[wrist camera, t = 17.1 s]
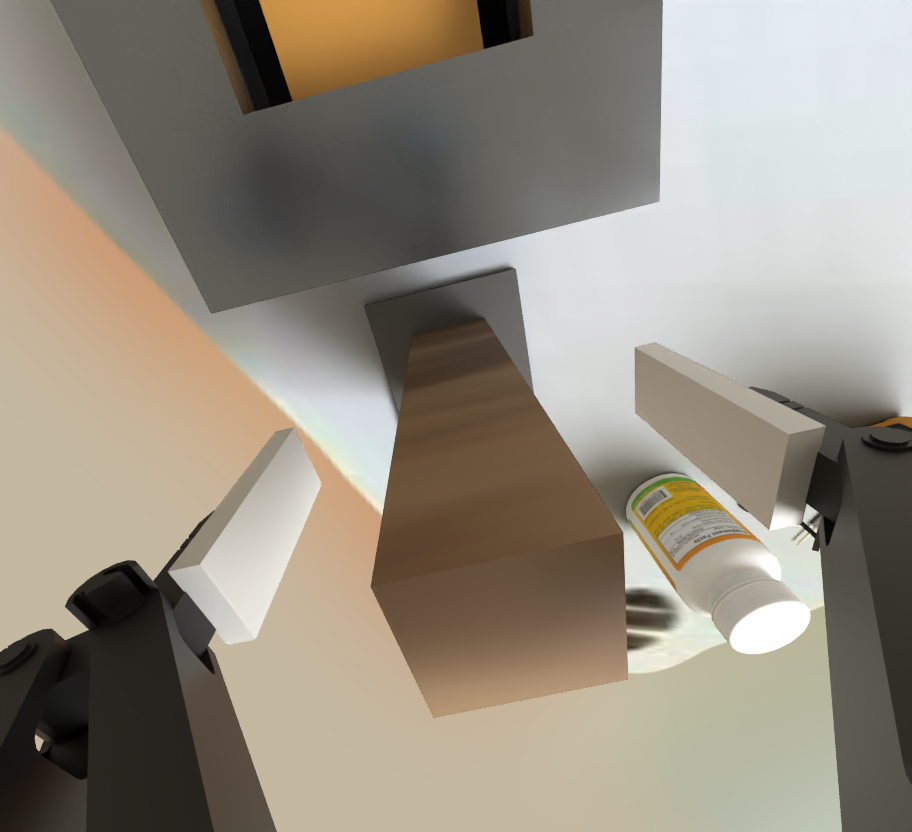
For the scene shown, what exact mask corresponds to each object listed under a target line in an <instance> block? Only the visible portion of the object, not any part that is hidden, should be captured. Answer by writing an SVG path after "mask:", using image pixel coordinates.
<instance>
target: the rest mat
mask: <svg viewBox="0 0 912 832" xmlns="http://www.w3.org/2000/svg"><path fill="white" fill-rule="evenodd" d="M364 308H365V311H366V314H367V317H368V320H369V323H370V326H371V329H372V332H373V335H374V338H375V341H376V344H377V347H378V350H379V353H380V356H381V359H382V362H383V365H384V369H385V372H386V375H387V378H388V381H389V384H390V387H391V390H392V393H393V396H394V399H395V402H396V405H397V408H398V411H399V413H400V406H401V400H402V394H403V388H404V382H405V376H406V370H407V364H408V358H409V352H410V346H411V340H412V335H416V334H420V333H424V332H429V331H433V330H437V329H441V328H445V327H449V326H453V325H457V324H462V323H466V322H470V321H474V320H478V319H482V318H485V319H486V321H487V322H488V324H489V325H490V327H491V328H492V330H493V331H494V333H495V335H496V336H497V338H498V339H499V341H500V342H501V344H502V345H503V347H504V348H505V350H506V352H507V353H508V355H509V356H510V358H511V359H512V361H513V362H514V364H515V366H516V367H517V369H518V370H519V372H520V373H521V375H522V376H523V378H524V379H525V381H526V383H527V384H528V386H529V387H530V389H531V390H532V392H533V385H532V378H531V371H530V364H529V357H528V350H527V343H526V336H525V329H524V322H523V315H522V309H521V302H520V295H519V288H518V281H517V274H516V269H510V270H506V271H502V272H498V273H494V274H490V275H486V276H482V277H478V278H473V279H469V280H465V281H461V282H457V283H453V284H449V285H445V286H441V287H437V288H433V289H429V290H425V291H421V292H417V293H413V294H409V295H405V296H401V297H397V298H392V299H388V300H384V301H380V302H376V303H372V304H368V305H365V306H364ZM533 393H534V392H533Z"/></svg>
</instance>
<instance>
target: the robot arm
mask: <svg viewBox="0 0 912 832" xmlns="http://www.w3.org/2000/svg"><path fill="white" fill-rule="evenodd" d="M635 413H636V414H638V415H639V416H640V417H641V418H642V419H643V420H644V421H646V422H647V423H648V424H649V425H650V426H651V427H652V428H653V429H655V430H656V431H657V432H658V433H659V434H660V435H661V436H663V437H664V438H665V439H666V440H667V441H668V442H669V443H671V444H672V445H673V446H674V447H675V448H676V449H677V450H679V451H680V452H681V453H682V454H683V455H684V456H685V457H687V458H688V459H689V460H690V461H691V462H692V463H693V464H695V465H696V466H697V467H698V468H699V469H700V470H701V471H703V472H704V473H705V474H706V475H707V476H708V477H709V478H710V479H712V480H713V481H714V482H715V483H716V484H717V485H718V486H720V487H721V488H722V489H723V490H724V491H725V492H726V493H728V494H729V495H730V496H731V497H732V498H733V499H734V500H736V501H737V502H738V503H739V504H740V505H741V506H742V507H744V508H745V509H746V510H747V511H748V512H749V513H750V514H752V515H753V516H754V517H755V518H756V519H757V520H758V521H760V522H761V523H762V524H763V525H764V526H765V527H766V528H767V529H769V530H774V529H779V528H784V527H789V526H793V525H798V524H802V520H803V516H804V512H805V508H806V504H808V505H809V506H811V507H812V508H814V509H815V510H816V511H818V512H819V513H821V514H822V515H821V519H820V523H819V526H818V530H817V533H816V537H815V541H814V544H813V548H812V550H814V551H819V549H820V553H821V566H822V578H823V591H824V604H825V617H826V629H827V642H828V654H829V668H830V681H831V693H832V706H833V719H834V732H835V745H836V758H837V770H838V783H839V795H840V808H841V820H842V832H912V433H911V432H908V431H904V430H901V429H895V428H888V427H878V426H864V427H858V428H853V429H852V428H850V427H848V426H846V425H843V424H841V423H839V422H837V421H835V420H833V419H831V418H828V417H826V416H824V415H822V414H820V413H818V412H815V411H813V410H811V409H809V408H804V406H803V405H800V404H798V403H796V402H794V401H792V402H791V401H790V399H788V398H785V397H783V396H781V395H779V394H777V393H775V392H772V391H768V390H763V389H759V388H755V387H749V388H747V387H745V386H743V385H741V384H739V383H737V382H735V381H733V380H731V379H729V378H727V377H725V376H723V375H721V374H719V373H717V372H715V371H713V370H711V369H709V368H707V367H704V366H702V365H700V364H698V363H696V362H694V361H692V360H690V359H688V358H686V357H684V356H682V355H680V354H678V353H676V352H674V351H672V350H670V349H668V348H666V347H664V346H662V345H660V344H657V343H651V344H647V345H643V346H638V347H635ZM321 485H322V484H321V482H320V480H319V478H318V475H317V473H316V471H315V470H314V467H313V465H312V463H311V461H310V459H309V457H308V454H307V453H306V450H305V448H304V446H303V444H302V442H301V440H300V438H299V436H298V434H297V431H296V429H295V428H294V427H293V428H289V429H285V430H281V431H276V432H275V433H274V434H273V436H272V437H271V438H270V440H269V441H268V442H267V443H266V445H265V446H264V447H263V449H262V450H261V451H260V452H259V454H258V455H257V456H256V458H255V459H254V460H253V462H252V463H251V464H250V465H249V467H248V468H247V469H246V471H245V472H244V473H243V474H242V476H241V477H240V478H239V480H238V481H237V482H236V484H235V485H234V486H233V487H232V489H231V490H230V491H229V493H228V494H227V495H226V497H225V498H224V499H223V500H222V502H221V503H220V504H219V506H218V507H217V508H216V510H214V511H213V512H212V513H210V514H209V515H208V516H207V517H206V518H205V519H203V520H202V521H201V522H200V523H199V524H198V525H197V527H196V528H195V529H194V530H193V532H192V533H191V534H190V535H189V538H188V539H186V540H185V542H184V543H183V544H182V545H181V547H180V550H177V552H176V553H175V554H174V555H173V557H172V558H171V559H170V561H169V562H168V563H167V564H166V566H165V567H164V568H163V569H162V571H161V572H160V573H159V575H158V576H157V577H156V578H155V580H154V581H152V580H151V578H150V577H149V576H148V575H147V574H146V573H145V571H144V570H143V569H142V568H141V567H140V566H139V564H138V563H137V562H136V561H130V560H127V561H124V562H121V563H117V564H115V565H112V566H110V567H108V568H106V569H104V570H102V571H101V572H99V573H98V574H96V575H94V576H93V577H91V578H90V579H89V580H87V581H86V582H85V583H84V584H82V585H81V586H80V587H79V588H78V589H77V590H76V591H75V592H74V593H73V594H72V595H71V596H70V597H69V599H68V601H67V603H66V605H65V607H66V608H67V609H68V610H69V611H70V612H71V613H72V614H73V615H74V616H75V617H76V618H77V619H78V620H80V622H82V623H83V624H84V625H85V626H86V627H87V628H88V629H89V630H88V631H86V632H83V633H81V634H79V635H77V636H74V637H72V638H70V639H68V640H64V639H63V638H62V637H61V636H60V635H58V634H57V633H56V632H55V631H54V630H53V629H43V630H40V631H37V632H35V633H32V634H30V635H28V636H26V637H25V638H23V639H21V640H19V641H16V642H14V643H13V644H11V645H10V646H8V648H7V649H6V648H5V649H4V650H3V651H1V652H0V832H277V831H276V828H275V825H274V822H273V820H272V817H271V814H270V811H269V808H268V805H267V803H266V799H265V797H264V794H263V791H262V788H261V785H260V782H259V779H258V776H257V774H256V771H255V768H254V765H253V762H252V759H251V756H250V754H249V751H248V748H247V745H246V742H245V739H244V736H243V733H242V730H241V728H240V725H239V722H238V719H237V716H236V714H235V710H234V707H233V705H232V702H231V699H230V696H229V693H228V690H227V687H226V685H225V682H224V679H223V676H222V673H221V670H220V667H219V664H218V661H217V659H216V656H215V654H214V652H213V651H212V650H211V649H210V648H209V646H208V644H209V642H210V640H211V638H212V637H213V635H214V633H215V631H216V632H217V633H218V634H219V635H220V637H221V638H222V639H223V640H224V642H225V643H226V644H227V645H230V644H235V643H240V642H244V641H249V640H254V639H256V637H257V635H258V632H259V630H260V628H261V625H262V623H263V620H264V618H265V616H266V613H267V611H268V609H269V606H270V604H271V602H272V599H273V597H274V594H275V592H276V590H277V588H278V585H279V583H280V580H281V578H282V576H283V574H284V571H285V569H286V566H287V564H288V562H289V560H290V557H291V555H292V552H293V550H294V548H295V545H296V543H297V541H298V538H299V536H300V533H301V531H302V529H303V527H304V524H305V522H306V520H307V517H308V515H309V512H310V510H311V508H312V506H313V503H314V501H315V499H316V496H317V494H318V491H319V489H320V487H321ZM35 734H36V735H37V736H39V737H40V738H41V739H43V740H44V742H43V744H42V747H41V749H40V751H38V750H37V749H36V744H35V739H34V738H35Z"/></svg>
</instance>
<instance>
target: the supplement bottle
mask: <svg viewBox="0 0 912 832" xmlns="http://www.w3.org/2000/svg"><path fill="white" fill-rule="evenodd" d="M626 515H627V519H628V521H629V523H630V525H631V526H632V528H633V530H634V531H635V533H636V534H637V535H638V537H639V538H640V539H641V541H642V542H643V544H644V545H645V547H646V548H647V550H648V551H649V553H650V554H651V555H652V557H653V558H654V560H655V561H656V563H657V564H658V566H659V567H660V569H661V570H662V572H663V573H664V574H665V576H666V577H667V579H668V580H669V582H670V583H671V585H672V586H673V588H674V589H675V591H676V592H677V594H678V595H679V596H680V598H681V599H682V600H683V602H684V603H685V604H686V605H687V606H688V607H689V608H690V609H691V610H693V611H694V612H696V613H698V614H700V615H703V616H706V617H710V618H712V621H713V622H714V624H715V626H716V628H717V629H718V630H719V632H720V633H721V634H722V635H723V637H724V638H725V639H726V640H727V642H728V643H729V644H730V646H731V647H732V648H733V649H735V650H737V651H739V652H742V653H746V654H759V653H765V652H769V651H772V650H775V649H778V648H780V647H782V646H784V645H786V644H788V643H790V642H791V641H793V640H794V639H795V638H797V637H798V636H799V635H800V634H801V633H802V632H803V631H804V630H805V628H806V627H807V625H808V623H809V620H810V612H809V610H808V608H807V606H806V605H805V604H804V603H803V602H802V601H801V600H800V599H799V598H798V597H797V596H796V595H795V594H794V593H793V592H792V591H791V590H790V589H789V588H788V587H787V586H786V585H785V584H784V583H783V582H781V581H780V576H781V571H780V565H779V563H778V561H777V559H776V557H775V556H774V555H773V553H772V552H771V551H770V550H769V549H768V548H767V547H766V546H765V545H764V544H763V543H762V542H761V541H760V540H758V539H757V538H756V537H755V536H754V535H753V534H752V533H751V532H750V531H749V530H748V529H747V528H746V527H744V526H743V525H742V524H741V523H740V522H739V521H738V520H737V519H736V518H735V517H734V516H733V515H732V514H730V513H729V512H728V511H727V510H726V509H725V508H724V507H723V506H722V505H721V504H720V503H719V502H718V501H716V500H715V499H714V498H713V497H712V496H711V495H710V494H709V493H708V492H707V491H706V490H705V489H704V488H702V487H701V486H700V485H699V484H698V483H697V482H696V481H694V480H693V479H691V478H690V477H688V476H685V475H682V474H674V473H672V474H663V475H659V476H656V477H654V478H652V479H650V480H648V481H646V482H644V483H643V484H641V485H640V486H639V487H638V488H637V489H636V490H635V491H634V492H633V494H632V495H631V496H630V498H629V500H628V503H627V507H626Z"/></svg>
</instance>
